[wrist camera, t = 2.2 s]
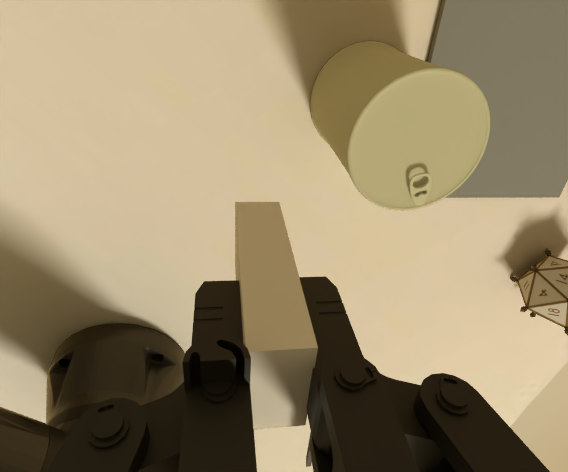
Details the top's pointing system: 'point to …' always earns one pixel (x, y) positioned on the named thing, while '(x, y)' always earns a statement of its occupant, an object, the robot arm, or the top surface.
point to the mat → (512, 90)
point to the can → (400, 124)
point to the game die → (546, 290)
